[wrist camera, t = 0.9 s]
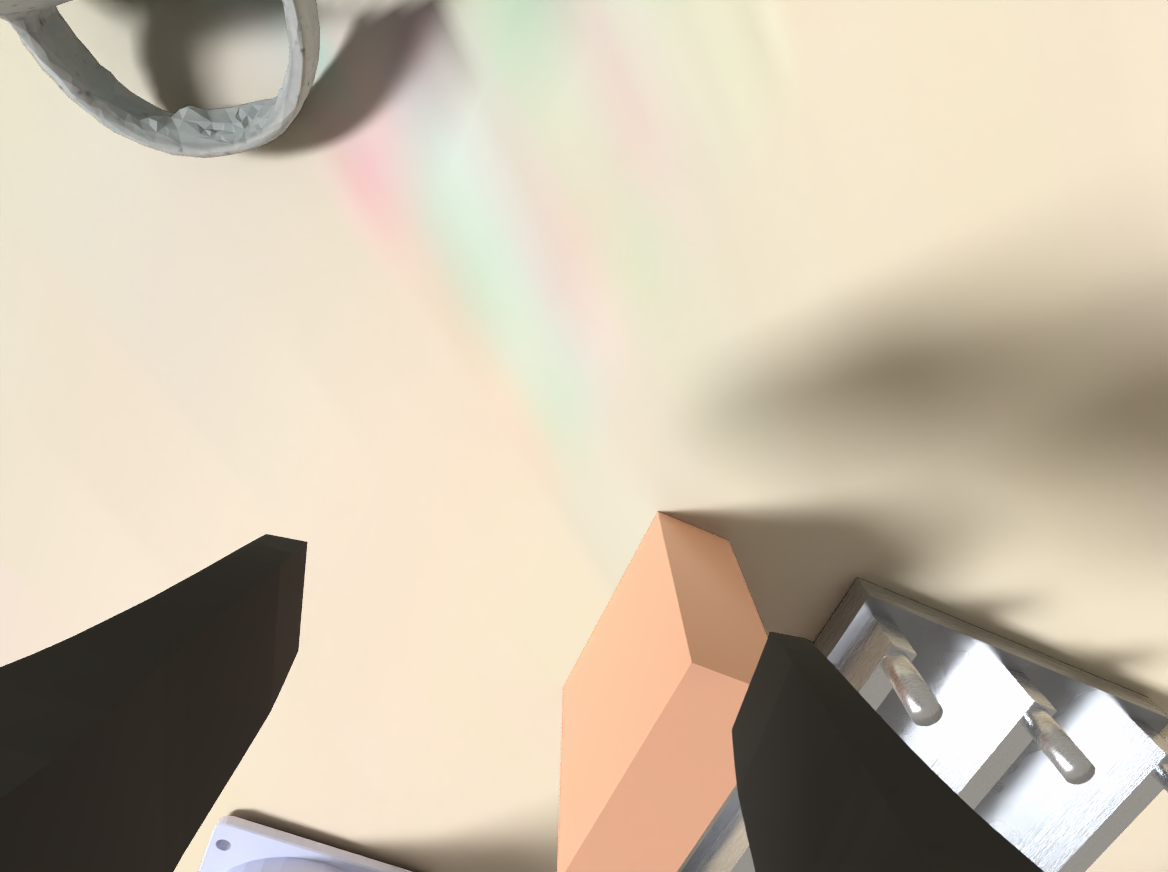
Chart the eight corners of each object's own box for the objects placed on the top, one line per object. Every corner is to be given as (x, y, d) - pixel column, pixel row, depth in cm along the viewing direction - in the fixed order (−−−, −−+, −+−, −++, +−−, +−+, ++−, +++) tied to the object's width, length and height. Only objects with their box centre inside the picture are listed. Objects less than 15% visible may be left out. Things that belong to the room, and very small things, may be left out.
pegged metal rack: (912, 962, 28) (970, 1101, 24) (656, 878, 27) (670, 1012, 22) (1148, 697, 24) (1269, 811, 20) (857, 577, 22) (922, 674, 18)
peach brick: (629, 710, 24) (647, 915, 17) (562, 686, 24) (556, 886, 17) (728, 539, 22) (793, 701, 15) (657, 510, 21) (692, 662, 15)
